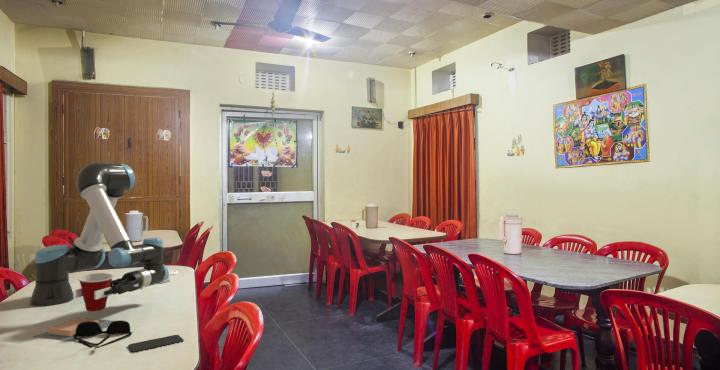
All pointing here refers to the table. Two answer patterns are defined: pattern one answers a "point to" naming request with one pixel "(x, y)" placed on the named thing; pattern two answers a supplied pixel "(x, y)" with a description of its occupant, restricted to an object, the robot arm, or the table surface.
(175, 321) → the table surface
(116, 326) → the sunglasses
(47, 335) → the mat
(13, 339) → the table surface
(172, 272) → the mug
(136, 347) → the phone
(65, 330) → the tile
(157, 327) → the table surface
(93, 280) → the plastic cup
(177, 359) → the table surface
